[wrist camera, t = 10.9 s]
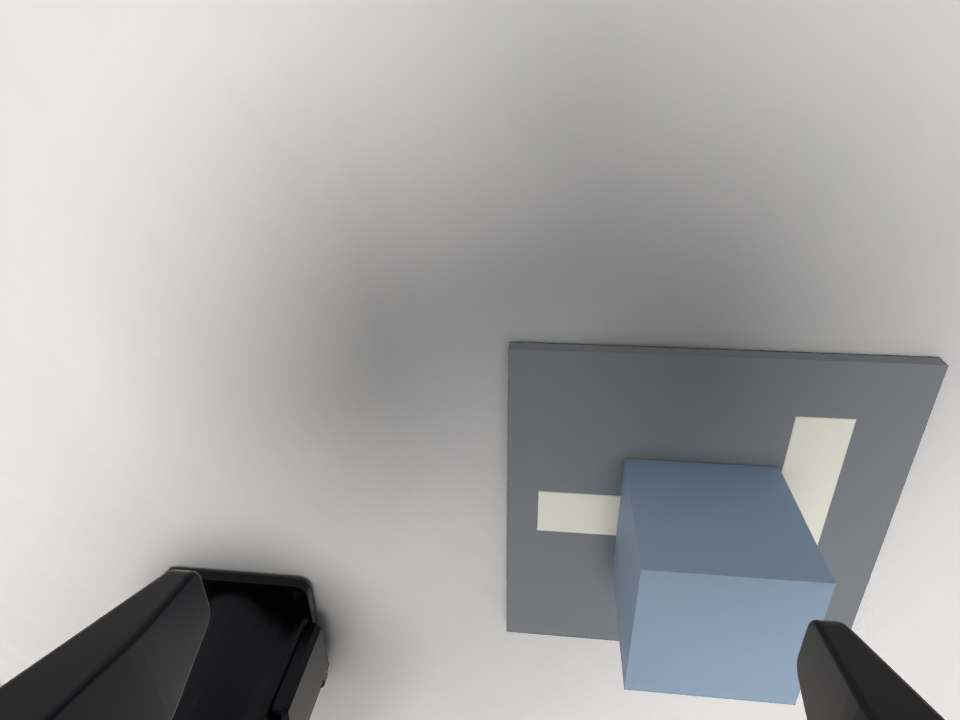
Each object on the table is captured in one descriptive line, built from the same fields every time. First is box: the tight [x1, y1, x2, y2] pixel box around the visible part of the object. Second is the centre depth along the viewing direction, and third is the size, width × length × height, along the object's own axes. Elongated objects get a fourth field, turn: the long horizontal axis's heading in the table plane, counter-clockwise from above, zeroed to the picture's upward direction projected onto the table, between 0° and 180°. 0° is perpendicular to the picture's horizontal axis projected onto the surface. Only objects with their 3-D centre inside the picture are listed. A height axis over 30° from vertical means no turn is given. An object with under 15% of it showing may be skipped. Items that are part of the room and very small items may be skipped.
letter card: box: [507, 342, 948, 641], centre depth 23 cm, size 13×13×1 cm
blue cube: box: [613, 459, 836, 705], centre depth 20 cm, size 5×5×5 cm
